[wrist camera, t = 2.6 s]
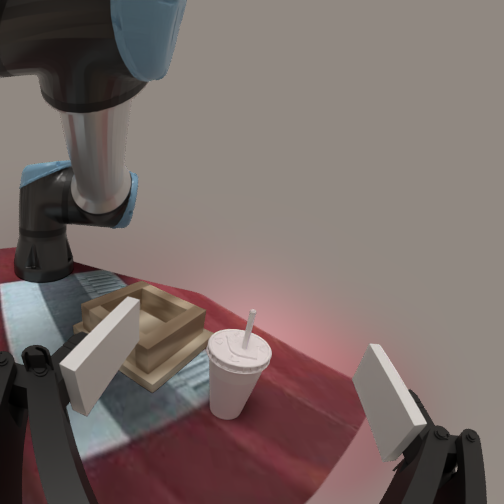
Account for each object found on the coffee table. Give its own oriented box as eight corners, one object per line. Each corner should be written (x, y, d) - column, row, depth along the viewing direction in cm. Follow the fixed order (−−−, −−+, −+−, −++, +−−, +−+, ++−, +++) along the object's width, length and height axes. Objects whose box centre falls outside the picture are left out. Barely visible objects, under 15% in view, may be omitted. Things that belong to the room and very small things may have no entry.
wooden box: (73, 333, 33) (70, 301, 31) (138, 303, 46) (139, 276, 45) (152, 393, 28) (152, 359, 26) (213, 341, 41) (218, 311, 40)
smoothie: (219, 436, 24) (245, 334, 20) (187, 399, 28) (200, 296, 25) (263, 414, 28) (297, 317, 25) (229, 383, 33) (252, 288, 29)
